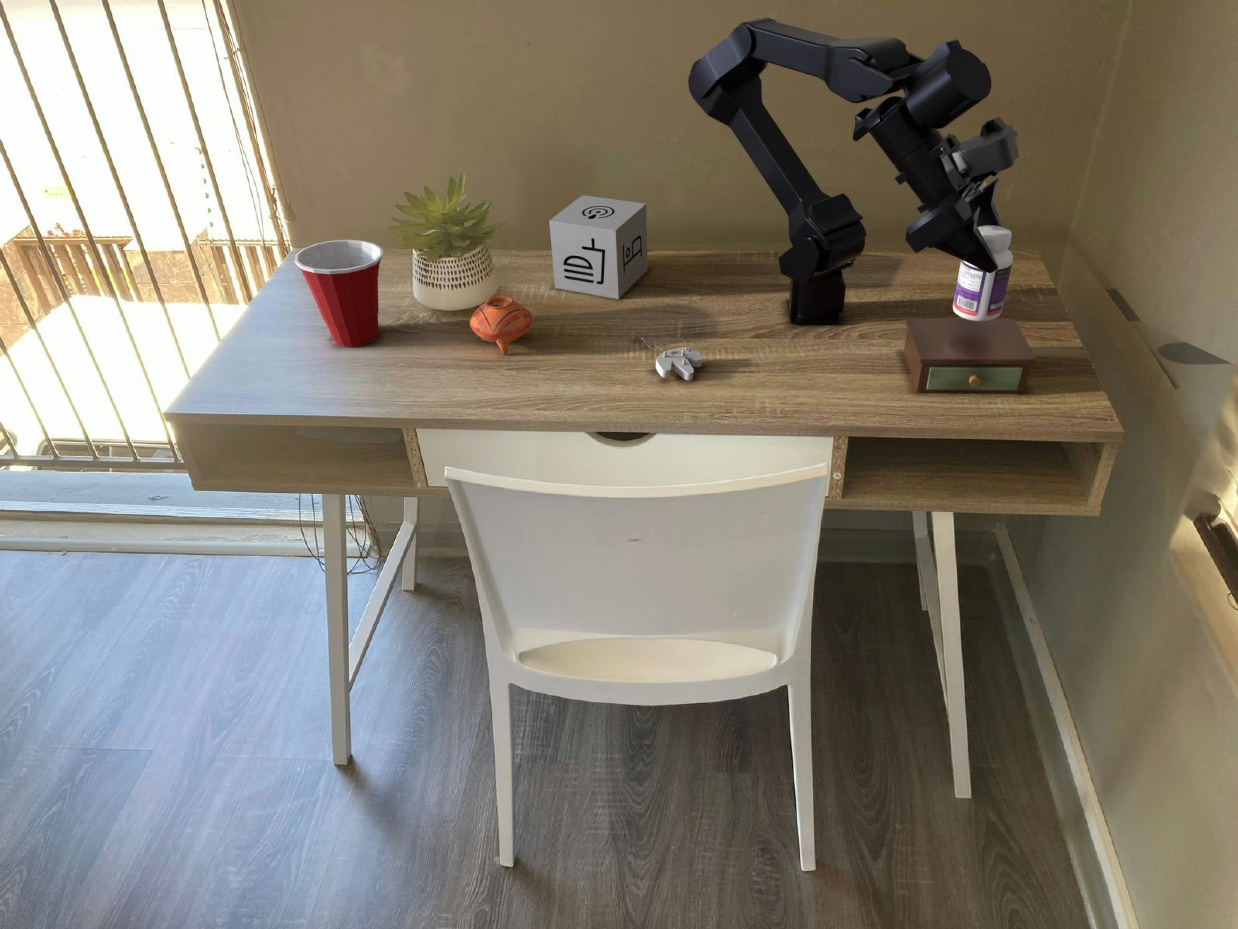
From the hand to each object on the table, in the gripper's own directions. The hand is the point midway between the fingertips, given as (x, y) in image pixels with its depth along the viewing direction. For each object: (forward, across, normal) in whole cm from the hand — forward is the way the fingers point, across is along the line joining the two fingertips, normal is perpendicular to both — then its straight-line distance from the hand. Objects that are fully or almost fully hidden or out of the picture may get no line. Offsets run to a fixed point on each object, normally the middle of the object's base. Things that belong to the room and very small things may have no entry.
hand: (1000, 260), depth 105 cm
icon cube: (-28, +1, +47) cm, 55 cm away
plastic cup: (-42, -28, +62) cm, 80 cm away
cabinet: (+9, -2, +10) cm, 14 cm away
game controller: (-14, -15, +34) cm, 40 cm away
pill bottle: (+4, 0, +6) cm, 7 cm away
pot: (-29, -21, +48) cm, 60 cm away
